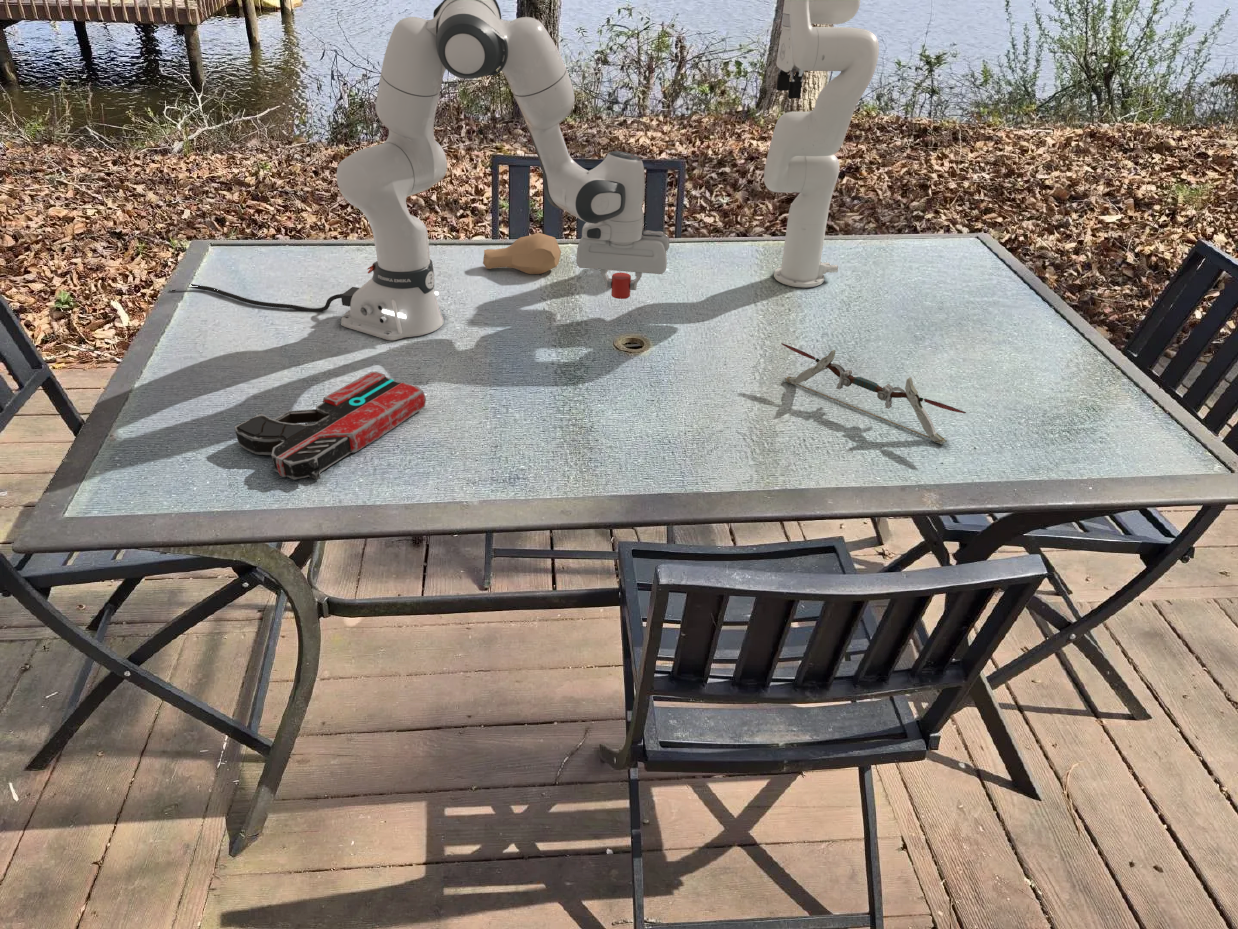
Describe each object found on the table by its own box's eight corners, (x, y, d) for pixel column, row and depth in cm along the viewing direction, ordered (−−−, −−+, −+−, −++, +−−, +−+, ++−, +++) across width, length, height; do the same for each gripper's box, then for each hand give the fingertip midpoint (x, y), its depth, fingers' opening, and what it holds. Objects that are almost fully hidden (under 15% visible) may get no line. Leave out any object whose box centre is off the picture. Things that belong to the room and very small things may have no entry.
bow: (958, 447, 158) (972, 398, 152) (954, 450, 157) (967, 402, 151) (779, 375, 179) (785, 330, 174) (774, 378, 178) (780, 333, 172)
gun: (219, 431, 148) (300, 468, 140) (353, 358, 170) (430, 387, 162) (225, 453, 150) (305, 490, 143) (356, 378, 172) (432, 408, 164)
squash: (562, 278, 220) (556, 246, 214) (484, 285, 222) (476, 253, 216) (564, 255, 228) (559, 224, 222) (489, 262, 230) (481, 231, 223)
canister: (622, 290, 203) (622, 270, 200) (634, 296, 200) (634, 276, 197) (607, 294, 200) (608, 275, 198) (619, 300, 198) (620, 281, 195)
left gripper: (671, 227, 193) (667, 286, 201) (579, 220, 195) (579, 279, 203) (668, 236, 188) (665, 297, 195) (574, 229, 190) (574, 289, 197)
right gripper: (772, 16, 228) (764, 87, 237) (793, 26, 213) (784, 101, 223) (800, 17, 229) (791, 87, 238) (822, 26, 214) (812, 100, 224)
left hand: (620, 288), depth 199 cm, fingers closed on canister, 4 cm apart
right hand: (788, 93), depth 230 cm, fingers open, 9 cm apart
